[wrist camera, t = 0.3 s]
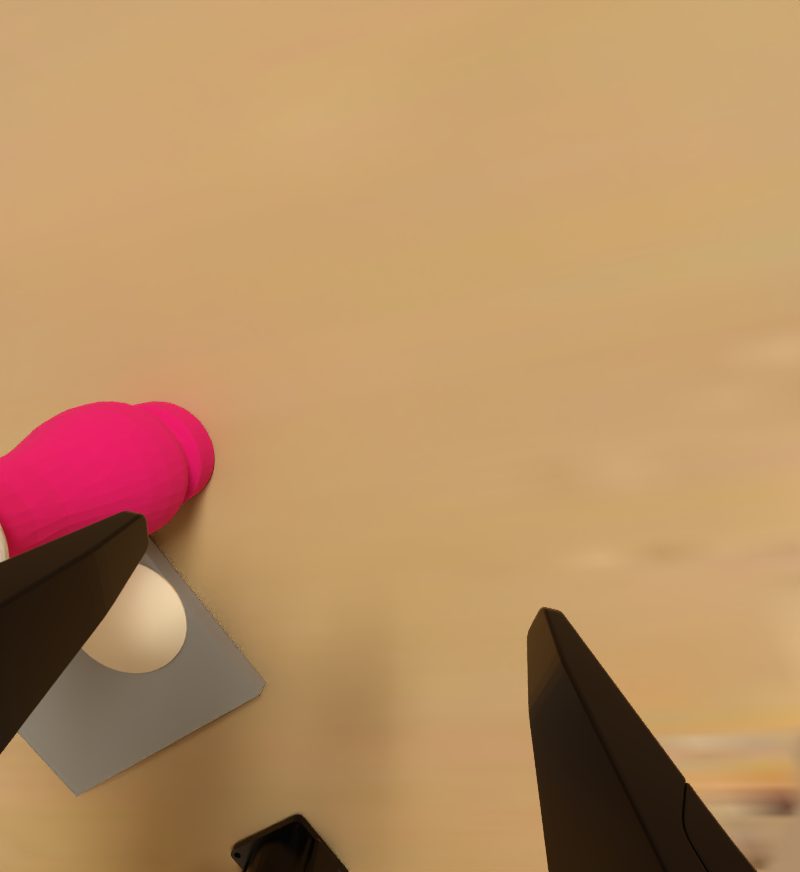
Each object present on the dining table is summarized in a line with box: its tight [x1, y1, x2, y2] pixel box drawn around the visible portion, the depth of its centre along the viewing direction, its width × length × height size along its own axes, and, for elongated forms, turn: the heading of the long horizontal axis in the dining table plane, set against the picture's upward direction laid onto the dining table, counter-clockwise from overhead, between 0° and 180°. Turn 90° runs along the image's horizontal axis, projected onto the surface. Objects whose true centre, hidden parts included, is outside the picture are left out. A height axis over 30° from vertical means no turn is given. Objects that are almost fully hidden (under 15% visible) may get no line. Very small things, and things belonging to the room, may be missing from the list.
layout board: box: [18, 537, 265, 797], centre depth 26 cm, size 17×18×6 cm
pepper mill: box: [0, 402, 214, 562], centre depth 16 cm, size 7×7×20 cm
